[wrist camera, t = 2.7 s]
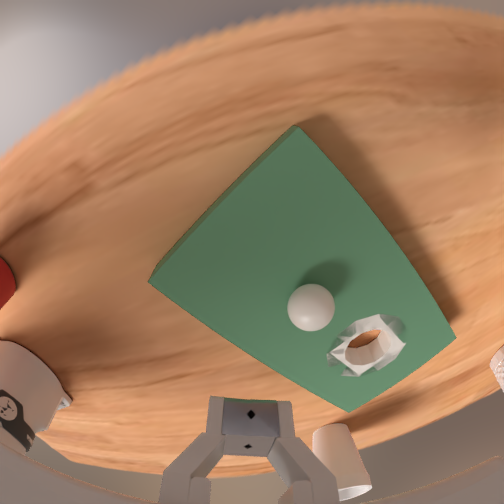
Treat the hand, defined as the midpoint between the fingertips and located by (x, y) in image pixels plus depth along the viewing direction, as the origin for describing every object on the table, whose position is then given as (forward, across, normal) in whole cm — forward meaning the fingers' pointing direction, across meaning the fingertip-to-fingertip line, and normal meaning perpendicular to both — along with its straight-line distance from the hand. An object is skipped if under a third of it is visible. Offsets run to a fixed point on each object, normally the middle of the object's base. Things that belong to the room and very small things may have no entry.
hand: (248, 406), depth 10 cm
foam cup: (+18, -19, +36) cm, 44 cm away
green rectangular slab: (+18, -10, +8) cm, 22 cm away
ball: (+13, -6, +5) cm, 15 cm away
